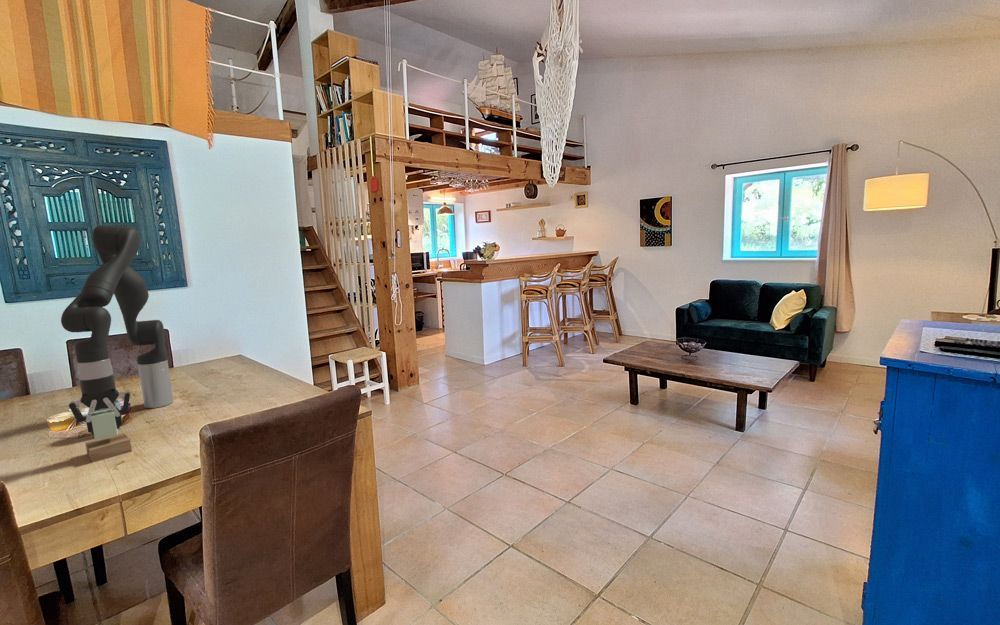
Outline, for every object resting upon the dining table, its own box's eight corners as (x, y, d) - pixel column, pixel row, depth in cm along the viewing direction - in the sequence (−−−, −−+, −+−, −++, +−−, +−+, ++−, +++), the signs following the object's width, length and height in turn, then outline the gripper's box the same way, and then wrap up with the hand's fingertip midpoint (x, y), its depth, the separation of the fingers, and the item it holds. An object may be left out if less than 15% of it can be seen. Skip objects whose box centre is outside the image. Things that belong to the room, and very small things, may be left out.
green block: (96, 434, 135) (92, 412, 134) (118, 430, 138) (114, 408, 137) (94, 440, 131) (90, 417, 130) (117, 435, 134) (113, 412, 133)
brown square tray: (87, 455, 135) (85, 442, 134) (125, 444, 142) (123, 432, 141) (92, 463, 129) (90, 450, 128) (132, 452, 136) (130, 439, 135)
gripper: (128, 367, 139) (136, 420, 142) (64, 377, 130) (74, 433, 133) (127, 372, 133) (136, 427, 136) (60, 383, 124) (71, 441, 127)
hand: (105, 430), depth 134 cm, fingers closed on green block, 5 cm apart
